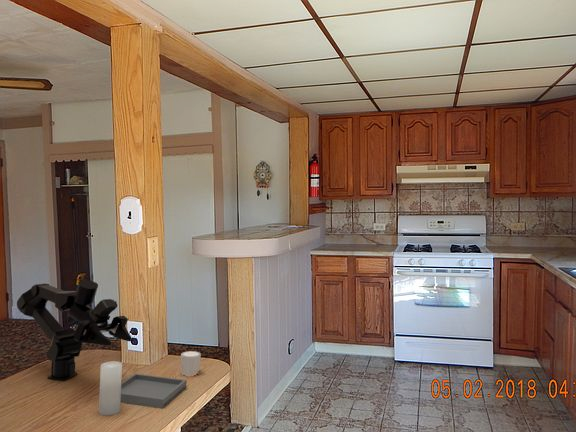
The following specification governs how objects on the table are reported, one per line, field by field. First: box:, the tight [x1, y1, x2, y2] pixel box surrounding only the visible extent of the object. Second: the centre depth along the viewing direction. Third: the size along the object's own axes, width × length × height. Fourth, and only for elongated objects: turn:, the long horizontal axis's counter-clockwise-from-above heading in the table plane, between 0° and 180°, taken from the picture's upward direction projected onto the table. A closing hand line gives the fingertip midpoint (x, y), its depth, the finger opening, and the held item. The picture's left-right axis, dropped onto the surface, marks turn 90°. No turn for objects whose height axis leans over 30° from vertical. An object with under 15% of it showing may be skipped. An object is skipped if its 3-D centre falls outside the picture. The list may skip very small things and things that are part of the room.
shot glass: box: [180, 350, 202, 376], centre depth 160 cm, size 7×7×7 cm
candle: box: [98, 360, 123, 417], centre depth 128 cm, size 6×6×13 cm
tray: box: [121, 373, 187, 409], centre depth 141 cm, size 18×16×2 cm
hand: (121, 342), depth 140 cm, fingers open, 9 cm apart
